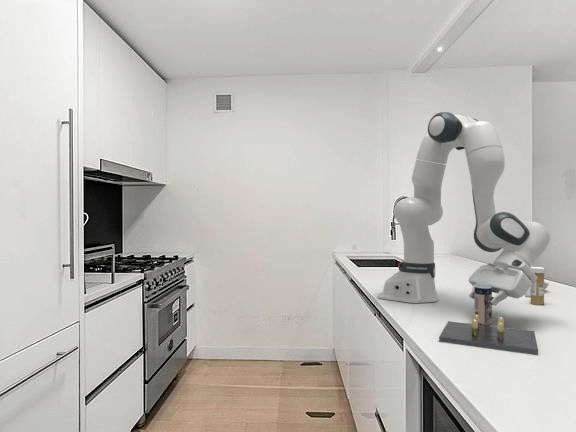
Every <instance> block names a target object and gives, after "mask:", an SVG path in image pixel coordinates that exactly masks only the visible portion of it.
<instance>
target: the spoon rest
mask: <svg viewBox="0 0 576 432" xmlns="http://www.w3.org/2000/svg"><path fill="white" fill-rule="evenodd" d="M549 284H550V283H548V282H546V281H544V291H545V290H546V289H547V288H548V287H549ZM524 297H526V298H531V294H530V288H529V289H528V291H527V292H526V293H525V294H524Z"/></svg>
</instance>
